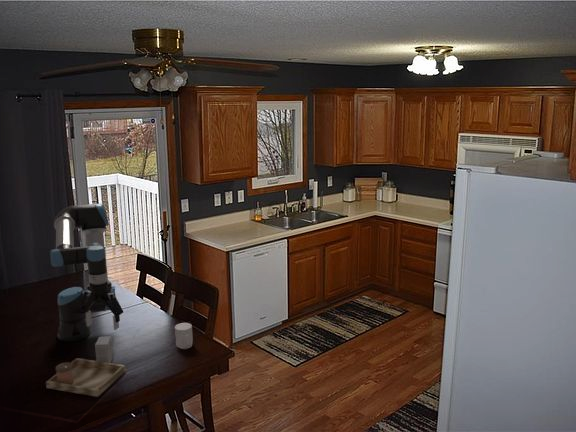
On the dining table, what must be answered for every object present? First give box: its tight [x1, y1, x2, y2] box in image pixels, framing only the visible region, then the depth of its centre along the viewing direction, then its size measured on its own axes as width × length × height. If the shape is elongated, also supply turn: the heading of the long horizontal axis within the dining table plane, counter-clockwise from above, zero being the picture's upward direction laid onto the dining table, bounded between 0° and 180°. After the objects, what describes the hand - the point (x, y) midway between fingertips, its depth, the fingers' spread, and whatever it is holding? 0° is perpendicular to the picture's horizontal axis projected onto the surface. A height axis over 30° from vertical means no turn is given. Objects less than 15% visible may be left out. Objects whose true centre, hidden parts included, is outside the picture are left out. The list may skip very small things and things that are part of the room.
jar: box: [55, 361, 74, 385], centre depth 219 cm, size 6×6×8 cm
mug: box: [174, 322, 194, 350], centre depth 252 cm, size 12×9×8 cm
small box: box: [94, 335, 114, 363], centre depth 238 cm, size 8×6×10 cm
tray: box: [45, 357, 126, 398], centre depth 223 cm, size 24×20×4 cm
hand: (102, 326), depth 235 cm, fingers open, 13 cm apart
